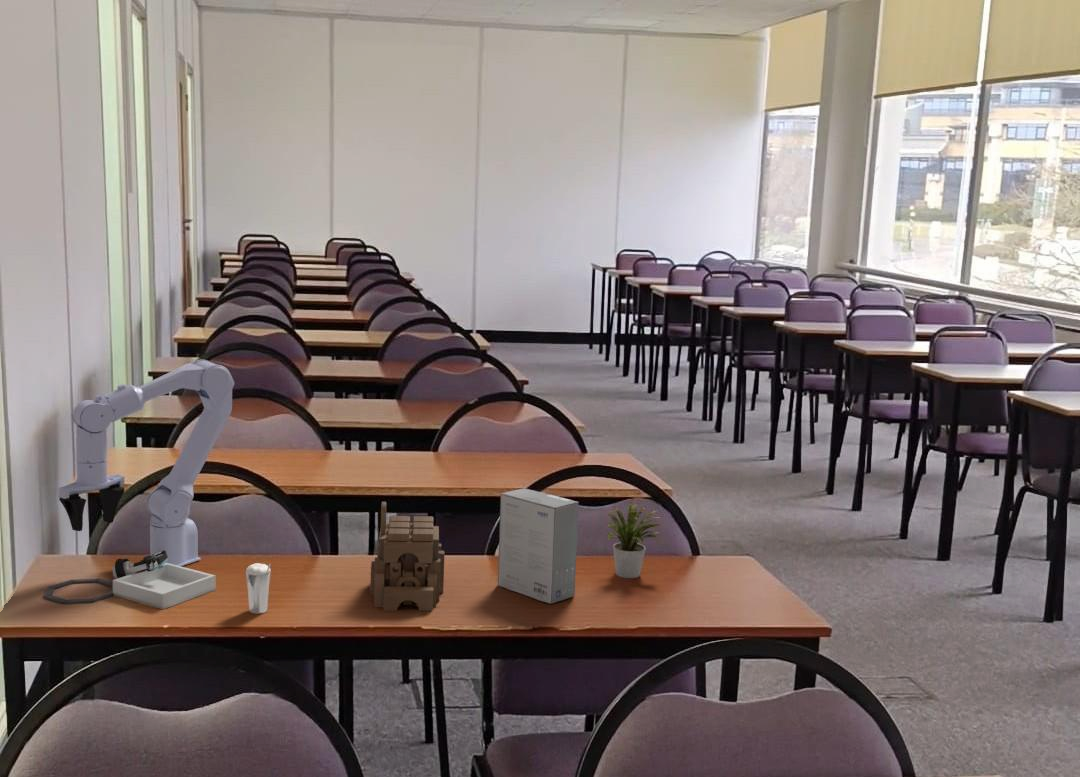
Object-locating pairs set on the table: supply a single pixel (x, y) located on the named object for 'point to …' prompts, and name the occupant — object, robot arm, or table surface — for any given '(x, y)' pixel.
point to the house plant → (630, 541)
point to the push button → (139, 564)
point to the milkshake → (258, 587)
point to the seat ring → (49, 596)
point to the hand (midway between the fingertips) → (92, 526)
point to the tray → (164, 586)
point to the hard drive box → (538, 545)
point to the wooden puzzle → (407, 563)
